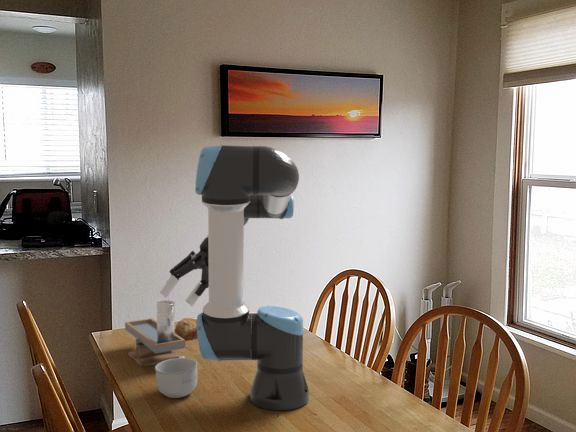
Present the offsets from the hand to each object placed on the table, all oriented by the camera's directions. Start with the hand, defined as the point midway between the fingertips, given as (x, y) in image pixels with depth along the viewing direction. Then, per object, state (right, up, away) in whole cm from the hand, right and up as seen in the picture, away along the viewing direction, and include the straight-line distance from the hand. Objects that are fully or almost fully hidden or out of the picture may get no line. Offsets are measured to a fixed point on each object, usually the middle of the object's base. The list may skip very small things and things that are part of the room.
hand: (175, 299), depth 178 cm
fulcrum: (-8, -19, +6) cm, 21 cm away
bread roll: (-1, -17, +29) cm, 33 cm away
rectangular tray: (-8, -13, +6) cm, 16 cm away
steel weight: (-2, -12, -2) cm, 13 cm away
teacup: (+5, -22, -19) cm, 29 cm away
